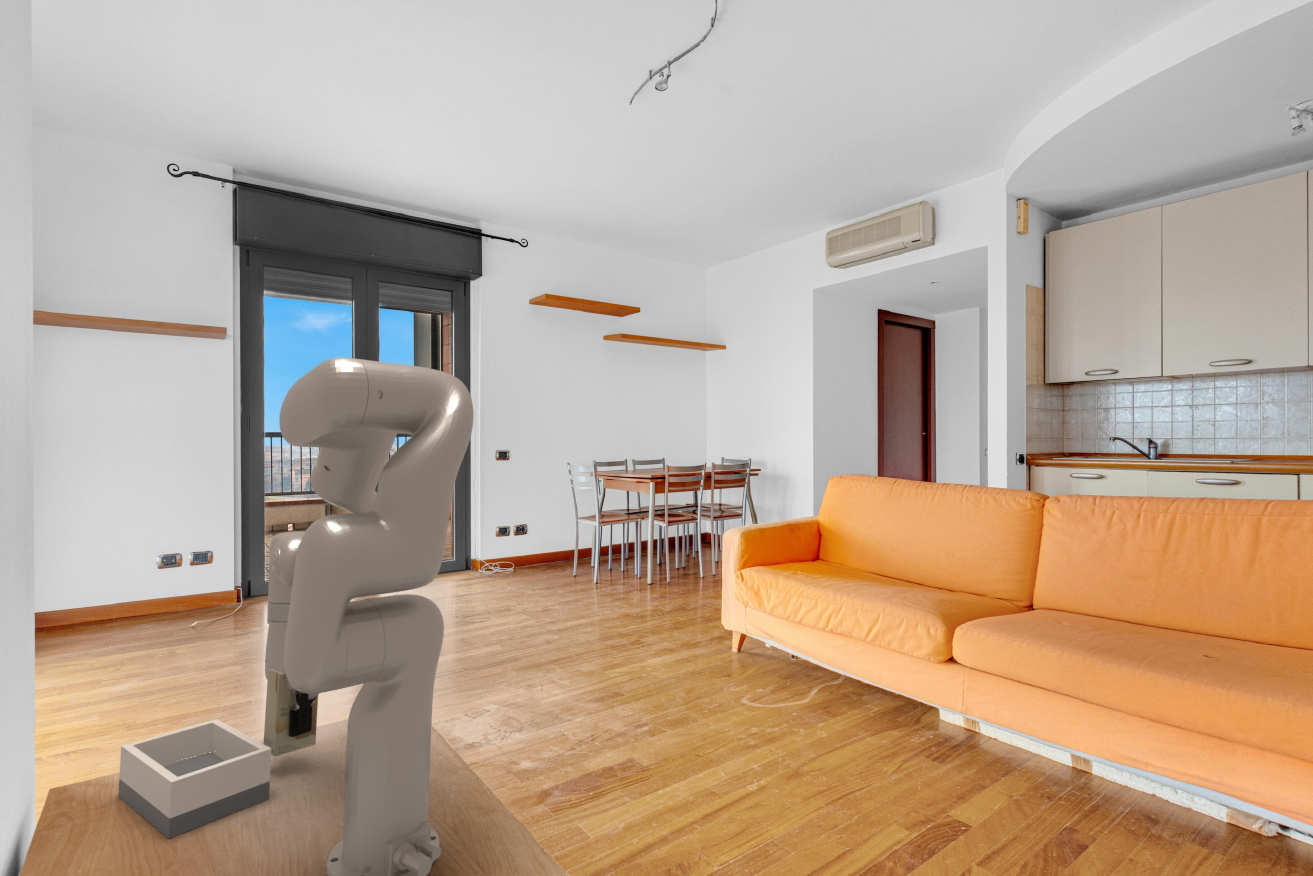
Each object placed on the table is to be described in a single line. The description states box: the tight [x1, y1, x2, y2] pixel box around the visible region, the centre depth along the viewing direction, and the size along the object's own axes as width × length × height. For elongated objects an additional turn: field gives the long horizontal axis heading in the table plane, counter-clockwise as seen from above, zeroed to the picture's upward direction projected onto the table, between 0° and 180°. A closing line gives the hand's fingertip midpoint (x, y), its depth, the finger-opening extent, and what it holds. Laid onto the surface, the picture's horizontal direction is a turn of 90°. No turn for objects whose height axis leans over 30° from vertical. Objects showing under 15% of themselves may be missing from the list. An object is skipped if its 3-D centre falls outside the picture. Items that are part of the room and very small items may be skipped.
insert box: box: [117, 718, 272, 840], centre depth 91 cm, size 17×12×7 cm
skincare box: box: [262, 669, 319, 757], centre depth 101 cm, size 6×4×12 cm
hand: (291, 729), depth 101 cm, fingers closed on skincare box, 4 cm apart
